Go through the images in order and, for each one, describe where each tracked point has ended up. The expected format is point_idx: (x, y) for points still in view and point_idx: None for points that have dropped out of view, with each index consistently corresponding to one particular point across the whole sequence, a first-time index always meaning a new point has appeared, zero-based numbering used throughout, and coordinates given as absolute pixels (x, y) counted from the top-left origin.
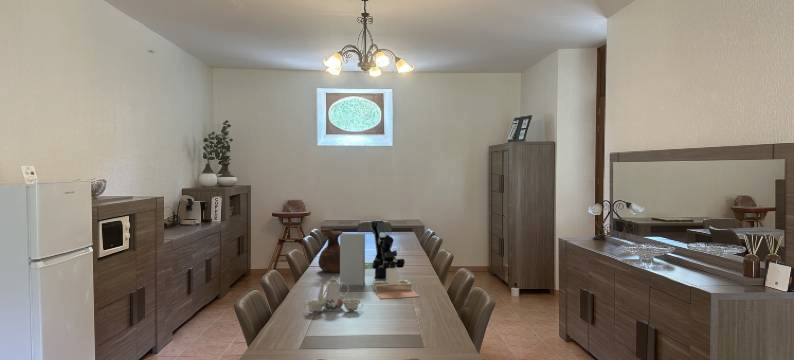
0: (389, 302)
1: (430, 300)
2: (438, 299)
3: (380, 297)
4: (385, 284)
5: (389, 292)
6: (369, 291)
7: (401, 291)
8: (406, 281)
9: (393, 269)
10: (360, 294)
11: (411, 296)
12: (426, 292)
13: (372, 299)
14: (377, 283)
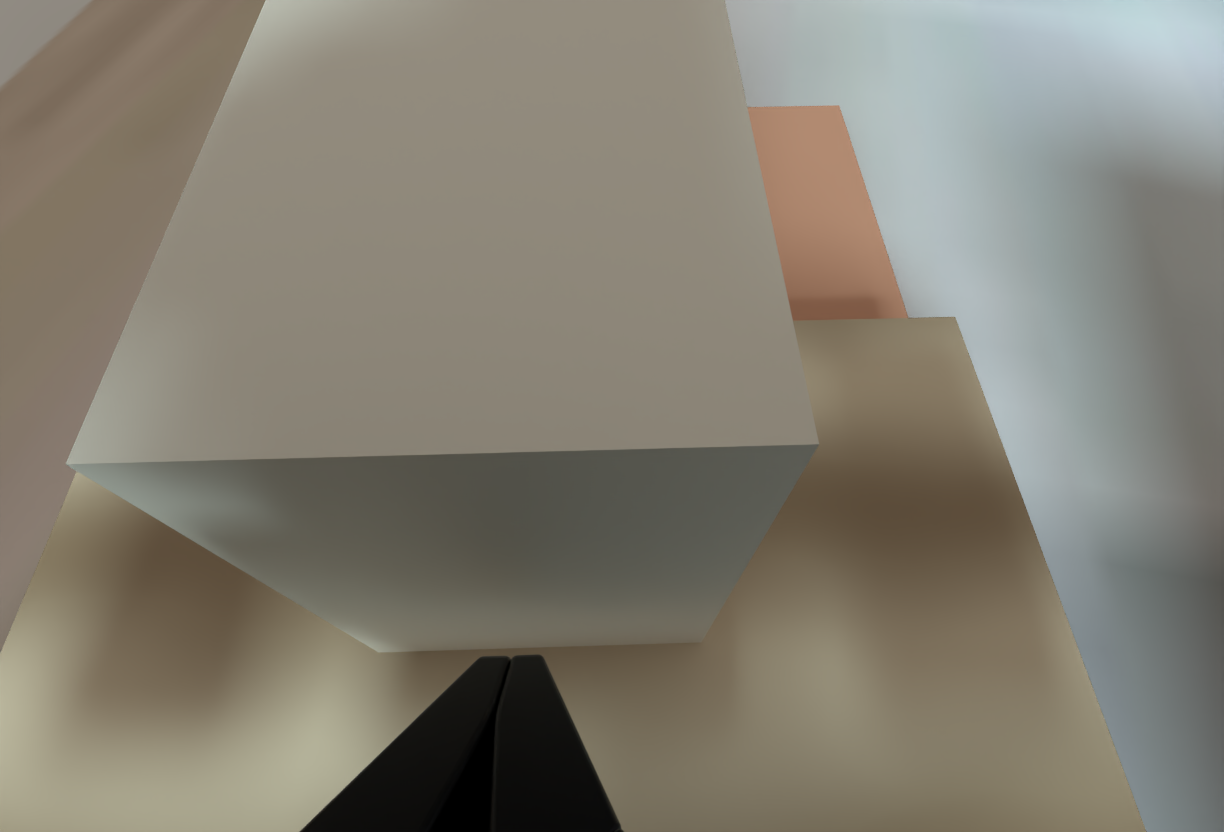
0: (729, 16)
1: (248, 12)
2: (136, 25)
3: (835, 135)
4: None
5: None
6: (1060, 530)
7: None
8: (74, 613)
9: (445, 142)
10: (1188, 358)
11: None
12: (34, 291)
13: (940, 121)
14: (964, 526)
